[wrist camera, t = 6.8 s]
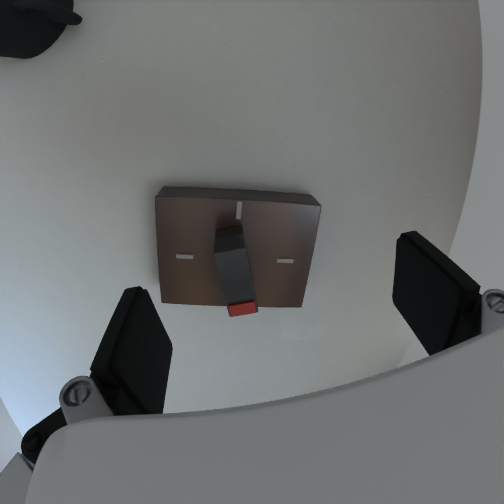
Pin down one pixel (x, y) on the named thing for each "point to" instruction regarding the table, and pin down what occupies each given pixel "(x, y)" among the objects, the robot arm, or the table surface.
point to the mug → (33, 25)
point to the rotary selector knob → (235, 271)
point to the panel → (256, 235)
